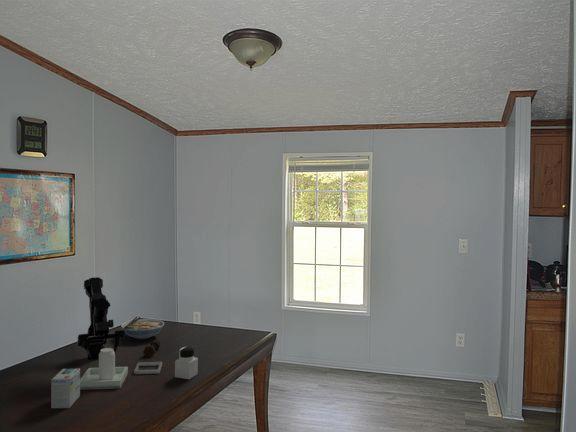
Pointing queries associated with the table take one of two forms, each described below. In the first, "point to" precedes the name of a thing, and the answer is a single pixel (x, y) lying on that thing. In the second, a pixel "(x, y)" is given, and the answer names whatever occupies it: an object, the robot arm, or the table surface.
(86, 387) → the tray
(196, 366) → the medicine bottle
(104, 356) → the beverage can
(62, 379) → the light bulb box
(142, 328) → the ramen bowl
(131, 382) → the table surface
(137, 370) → the grey square frame
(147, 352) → the bolt
